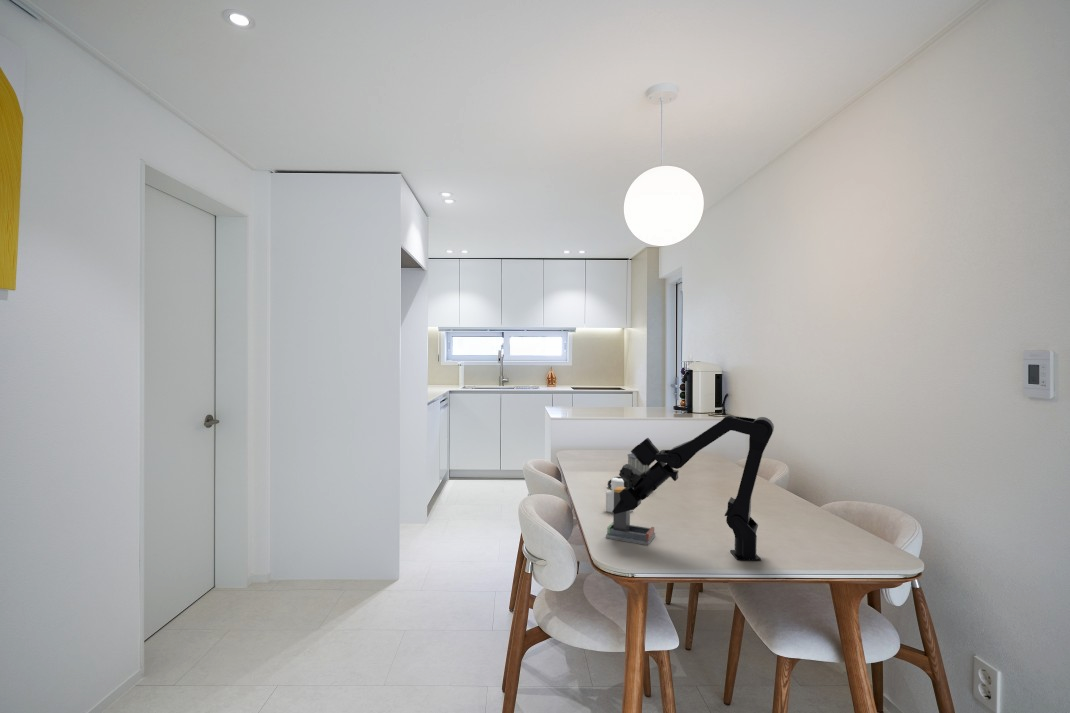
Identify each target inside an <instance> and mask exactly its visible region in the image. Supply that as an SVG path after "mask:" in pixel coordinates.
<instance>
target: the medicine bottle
mask: <svg viewBox="0 0 1070 713" xmlns="http://www.w3.org/2000/svg"><path fill="white" fill-rule="evenodd" d="M610 480H611V488H610V490H607V491H606V492H605V512H607V513H610V514H614V513H613V512H612V511H613V510H614V489H615V488H617V487H625V488H626V487H628V480H627V479H625V478H623V477H621V476H614V477H612V478H610ZM633 511H634V510H630V513H631V512H633Z"/></svg>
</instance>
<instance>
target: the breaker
mask: <svg viewBox="0 0 1070 713" xmlns="http://www.w3.org/2000/svg"><path fill="white" fill-rule="evenodd" d="M623 489H625V487H617V488H615V489H614V508H615V507H616V505H617V504H618V502H619V501H620V496H619V493H620V492H621V491H622V490H623ZM612 519H613V522H612V523H613V529H618V530H624V531H629V530H630V525H631V512H630V510H629V511H625V512H621V513H618V514H614V513H613V518H612Z"/></svg>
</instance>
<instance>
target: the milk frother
mask: <svg viewBox="0 0 1070 713" xmlns="http://www.w3.org/2000/svg"><path fill="white" fill-rule="evenodd" d="M627 464H629V465H630V466H632V467H634V468H636V469H637V470H639V471H640V472H641V473H643V472H645V471H647V470H648V469H649V468H650V465H651V464H650V465H649V466H647V465H646V466H645V465H642V464H641V463H640V462H639V461H638V460H637V458H636V457H635V456H634V455H633V454H632V453H628V454H627ZM631 483H632V482H630V481H628V487H631V488H632V486H631V485H630V484H631ZM607 487H609V489H611V479H609V480H608V481H607Z"/></svg>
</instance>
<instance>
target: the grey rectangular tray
mask: <svg viewBox="0 0 1070 713" xmlns="http://www.w3.org/2000/svg"><path fill="white" fill-rule="evenodd" d="M655 537H656V532H655V526H651V527H646V526H641V525H640V526H639V525H633V524H630V530H629V531H624V530H618V529H613V522H611V523H610V524H609V525H608V526H607V528H606V534H605V538H606V539H608V540H609V539H611V540H615V541H616V540H617V541H620V542H627V543H632V544H639V545H643V546H649V544H650V543H651V542H652V541H653V539H654V538H655Z"/></svg>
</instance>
